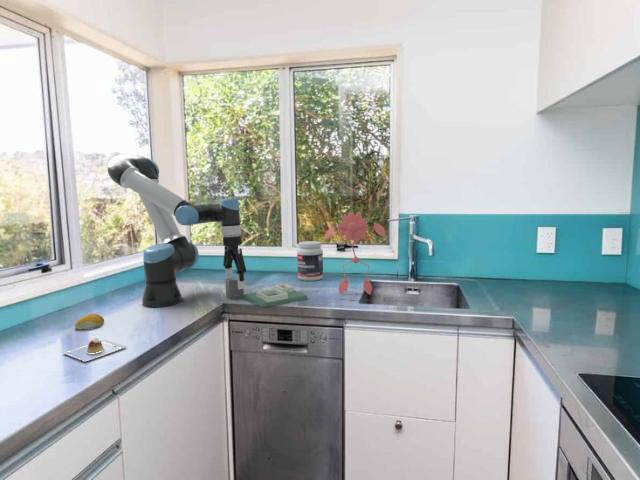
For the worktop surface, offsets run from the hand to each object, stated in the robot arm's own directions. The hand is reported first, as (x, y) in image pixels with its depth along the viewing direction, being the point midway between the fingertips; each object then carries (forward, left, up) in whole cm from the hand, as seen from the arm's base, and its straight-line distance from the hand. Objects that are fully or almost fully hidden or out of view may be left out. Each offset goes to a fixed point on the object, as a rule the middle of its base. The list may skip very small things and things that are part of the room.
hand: (235, 286), depth 173 cm
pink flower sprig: (+41, -29, -5) cm, 50 cm away
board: (+13, -12, -5) cm, 18 cm away
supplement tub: (+44, +11, -5) cm, 45 cm away
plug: (0, 0, -5) cm, 5 cm away
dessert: (-55, -32, -6) cm, 64 cm away
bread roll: (-54, -5, -5) cm, 55 cm away
